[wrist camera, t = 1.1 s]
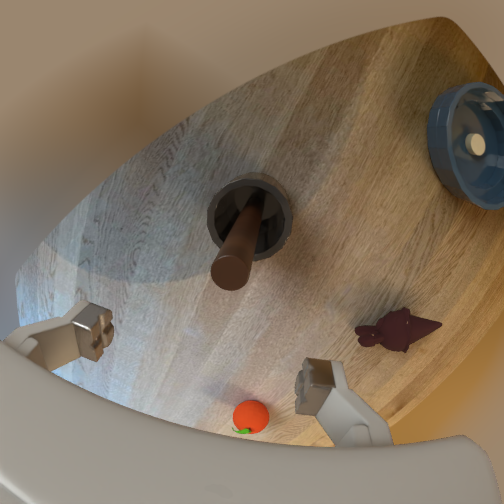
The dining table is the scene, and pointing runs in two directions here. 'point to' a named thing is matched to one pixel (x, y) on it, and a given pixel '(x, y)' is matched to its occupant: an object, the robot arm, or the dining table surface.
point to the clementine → (250, 417)
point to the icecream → (396, 330)
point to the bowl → (454, 149)
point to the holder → (234, 199)
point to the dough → (475, 144)
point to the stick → (238, 248)
